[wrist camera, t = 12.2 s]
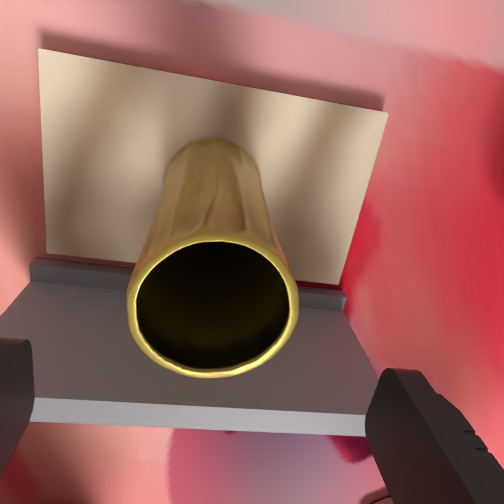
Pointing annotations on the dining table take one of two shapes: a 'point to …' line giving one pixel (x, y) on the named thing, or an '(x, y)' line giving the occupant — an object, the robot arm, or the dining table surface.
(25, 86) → the dining table surface
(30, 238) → the dining table surface
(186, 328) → the vase
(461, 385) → the dining table surface
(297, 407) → the screen
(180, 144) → the board
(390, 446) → the robot arm
